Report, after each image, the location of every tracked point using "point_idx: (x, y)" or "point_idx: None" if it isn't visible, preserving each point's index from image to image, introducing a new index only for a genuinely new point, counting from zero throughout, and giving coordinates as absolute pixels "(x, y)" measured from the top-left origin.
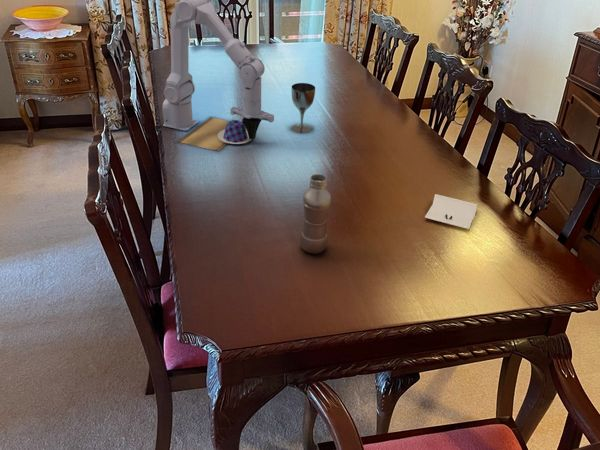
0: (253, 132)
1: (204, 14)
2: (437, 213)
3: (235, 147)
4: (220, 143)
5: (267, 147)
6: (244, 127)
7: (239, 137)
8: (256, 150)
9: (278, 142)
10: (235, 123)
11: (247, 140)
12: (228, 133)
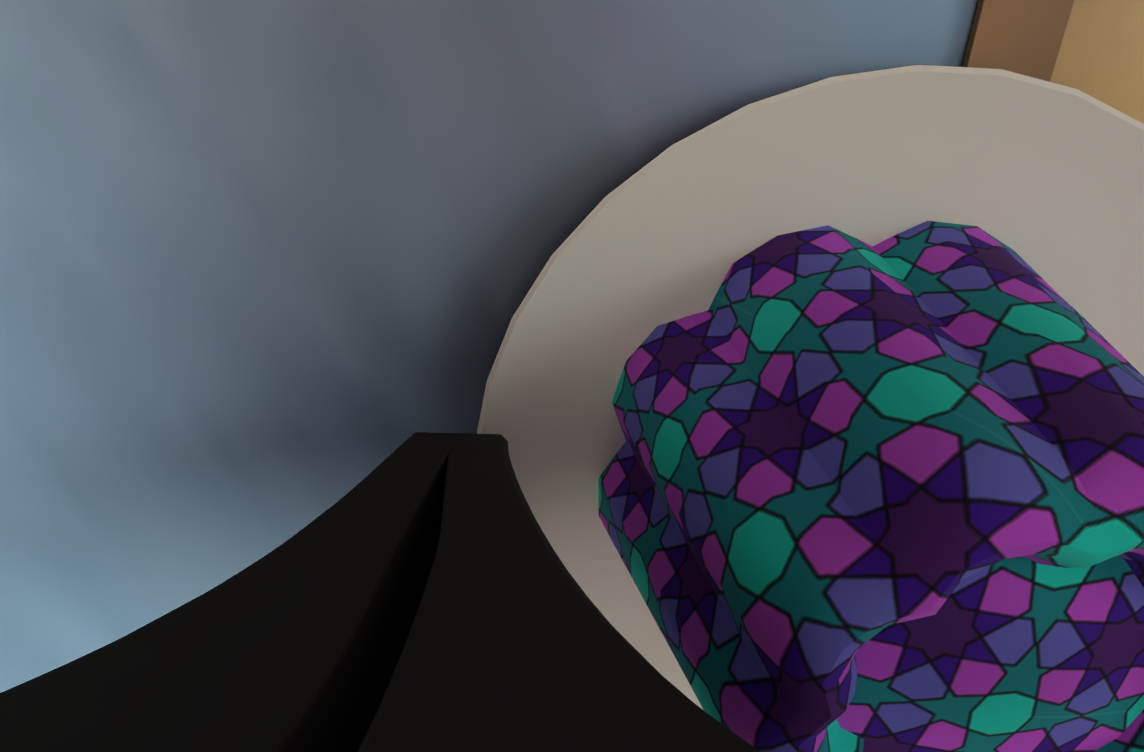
0: (310, 525)
1: None
2: None
3: (703, 45)
4: (1108, 76)
5: (58, 348)
6: (704, 677)
7: (729, 369)
8: (171, 106)
9: (25, 605)
10: (1027, 746)
11: (558, 423)
12: (1072, 326)
